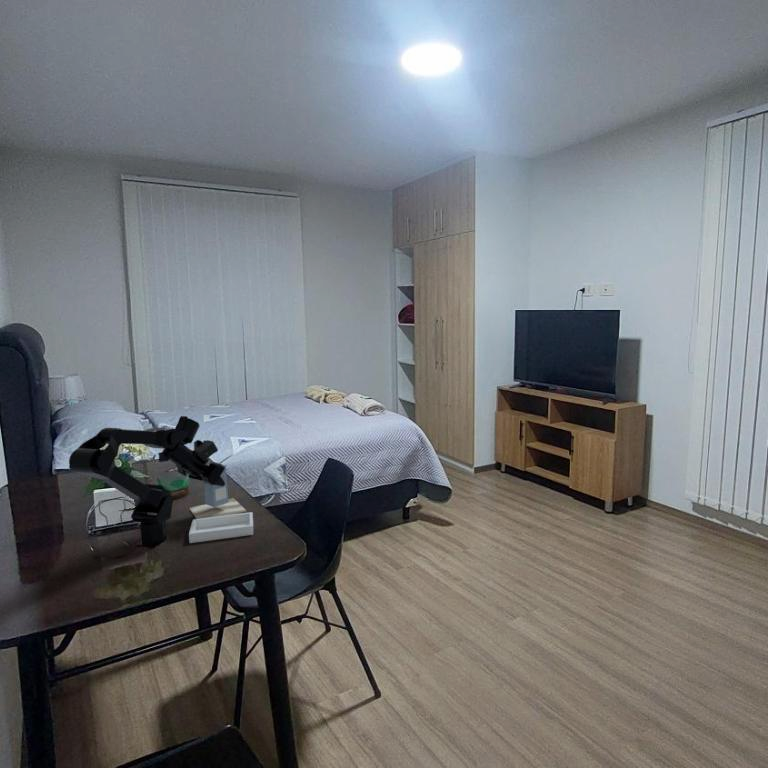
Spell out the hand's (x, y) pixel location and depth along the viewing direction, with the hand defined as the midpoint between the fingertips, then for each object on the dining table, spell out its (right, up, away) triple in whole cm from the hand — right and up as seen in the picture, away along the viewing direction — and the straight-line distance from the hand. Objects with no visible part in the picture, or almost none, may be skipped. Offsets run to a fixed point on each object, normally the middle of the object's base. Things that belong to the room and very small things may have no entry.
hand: (219, 483), depth 162 cm
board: (-1, -9, 0) cm, 9 cm away
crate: (+6, -11, -15) cm, 20 cm away
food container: (-19, -8, +16) cm, 26 cm away
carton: (-1, -6, 0) cm, 6 cm away
